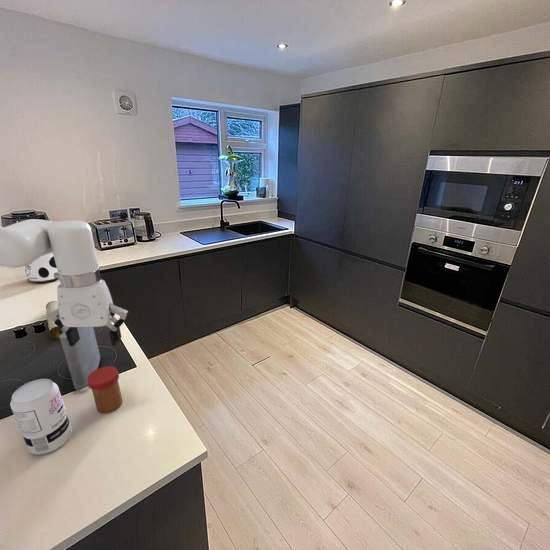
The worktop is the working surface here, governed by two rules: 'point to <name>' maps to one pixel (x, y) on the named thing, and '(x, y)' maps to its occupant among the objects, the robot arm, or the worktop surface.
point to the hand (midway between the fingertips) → (95, 342)
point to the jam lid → (103, 378)
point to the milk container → (42, 269)
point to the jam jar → (108, 399)
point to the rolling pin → (53, 328)
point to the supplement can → (41, 415)
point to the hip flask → (81, 356)
